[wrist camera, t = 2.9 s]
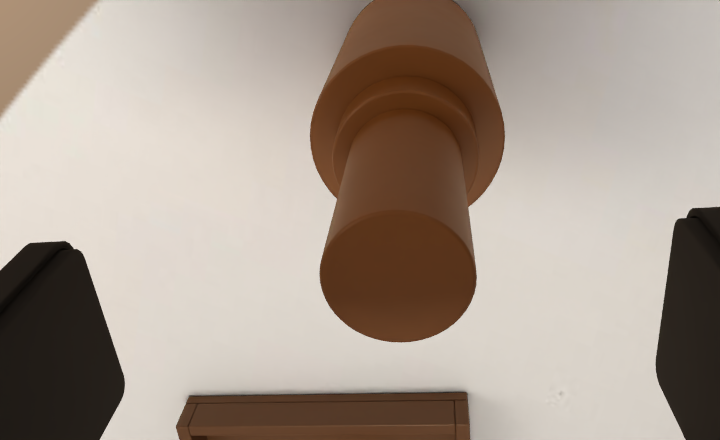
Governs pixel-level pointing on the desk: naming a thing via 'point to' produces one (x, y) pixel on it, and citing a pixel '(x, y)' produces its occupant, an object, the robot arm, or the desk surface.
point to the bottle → (405, 167)
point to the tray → (326, 417)
